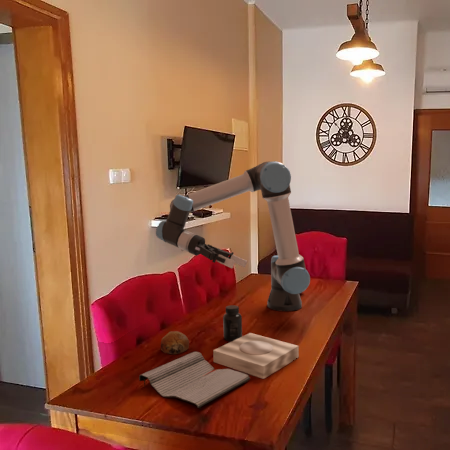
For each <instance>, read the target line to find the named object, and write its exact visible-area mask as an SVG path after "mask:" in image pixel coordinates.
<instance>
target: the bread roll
mask: <svg viewBox="0 0 450 450" xmlns="http://www.w3.org/2000/svg"><path fill="white" fill-rule="evenodd" d="M189 346H190V340H189V339H188V337H187V335H186V334H184V333H182V332H181V331H168V333H166V335H164V336H163V337H162V338H161V341H160V350H161V351H162V353H164V354H166V353H167V355H178V354H182V353H184V352H186V351H187V350H188V349H189Z"/></svg>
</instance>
